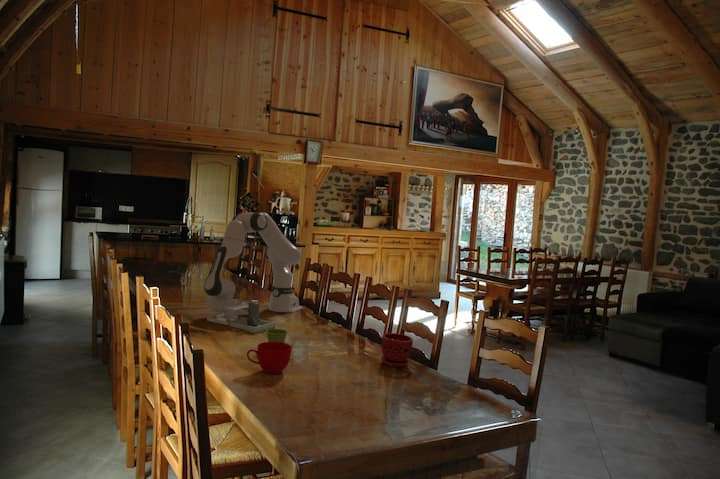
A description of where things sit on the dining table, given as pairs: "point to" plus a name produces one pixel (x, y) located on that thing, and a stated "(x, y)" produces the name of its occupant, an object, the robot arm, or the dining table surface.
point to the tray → (224, 319)
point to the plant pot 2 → (396, 349)
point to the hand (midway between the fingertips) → (253, 311)
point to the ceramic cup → (272, 356)
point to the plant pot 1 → (276, 335)
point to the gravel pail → (253, 313)
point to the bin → (261, 327)
